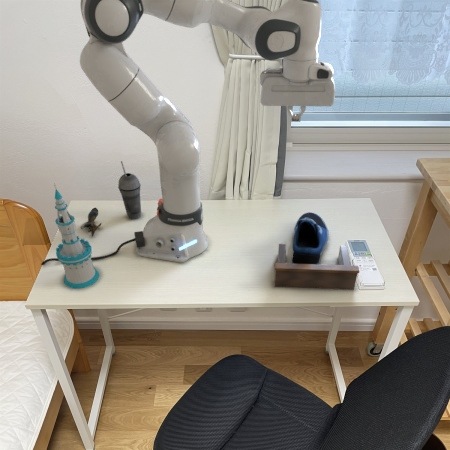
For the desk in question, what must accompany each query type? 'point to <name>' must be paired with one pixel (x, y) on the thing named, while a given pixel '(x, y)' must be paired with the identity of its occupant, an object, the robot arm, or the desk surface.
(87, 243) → the model tower
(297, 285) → the wooden u-shaped bracket
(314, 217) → the shoe
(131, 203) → the beverage cup
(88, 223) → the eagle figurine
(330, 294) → the desk surface
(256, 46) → the robot arm
